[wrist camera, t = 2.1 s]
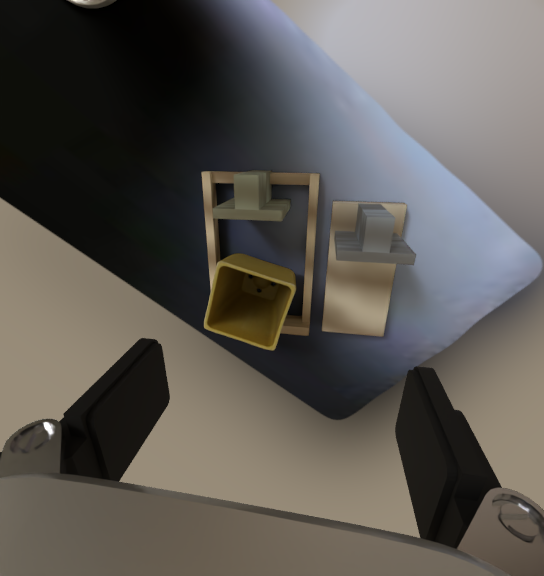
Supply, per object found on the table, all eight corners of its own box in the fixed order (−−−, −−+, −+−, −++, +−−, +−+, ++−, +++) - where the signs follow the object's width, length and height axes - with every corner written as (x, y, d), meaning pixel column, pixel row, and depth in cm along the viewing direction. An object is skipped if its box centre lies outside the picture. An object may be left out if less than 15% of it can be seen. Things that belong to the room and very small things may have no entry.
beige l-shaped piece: (332, 200, 36) (335, 215, 28) (403, 202, 35) (429, 219, 27) (322, 325, 43) (321, 368, 35) (381, 330, 42) (395, 376, 33)
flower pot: (239, 238, 40) (217, 260, 32) (303, 259, 40) (297, 286, 32) (225, 295, 44) (202, 328, 36) (283, 315, 43) (274, 352, 35)
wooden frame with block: (206, 169, 37) (178, 173, 30) (319, 171, 35) (318, 176, 28) (217, 316, 45) (196, 347, 38) (309, 324, 43) (306, 358, 36)
